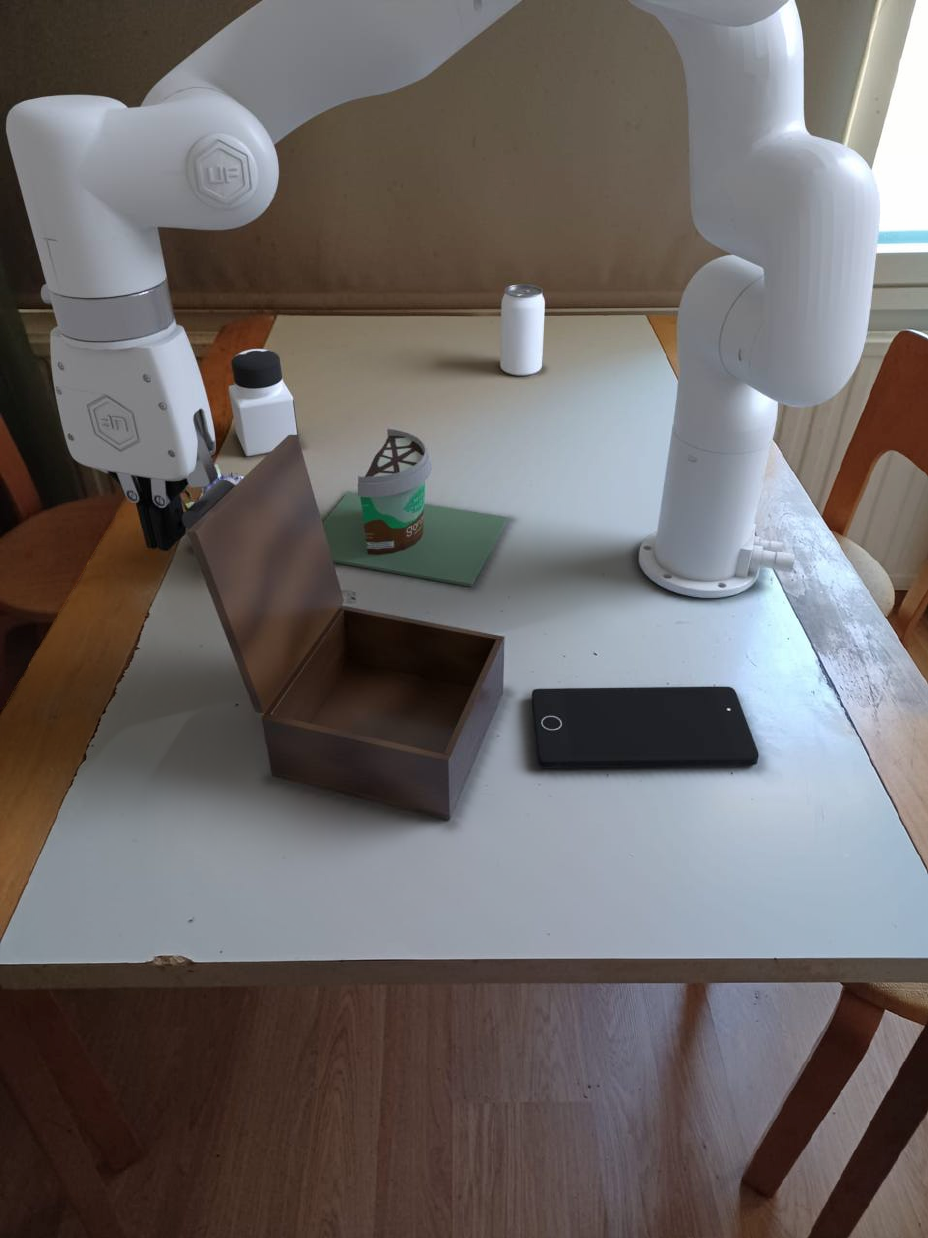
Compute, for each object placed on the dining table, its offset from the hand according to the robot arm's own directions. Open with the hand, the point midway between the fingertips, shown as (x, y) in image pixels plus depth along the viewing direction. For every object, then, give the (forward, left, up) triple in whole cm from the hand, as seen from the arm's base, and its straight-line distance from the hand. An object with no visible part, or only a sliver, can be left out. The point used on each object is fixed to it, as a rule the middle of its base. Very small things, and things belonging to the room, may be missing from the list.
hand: (167, 540), depth 72 cm
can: (-8, -81, -16) cm, 83 cm away
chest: (-18, 0, -16) cm, 24 cm away
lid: (-10, 0, -1) cm, 10 cm away
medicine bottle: (+18, -47, -16) cm, 53 cm away
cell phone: (-38, -7, -16) cm, 42 cm away
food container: (-8, -30, -16) cm, 35 cm away
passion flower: (+10, -22, -16) cm, 29 cm away
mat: (-8, -30, -16) cm, 35 cm away
